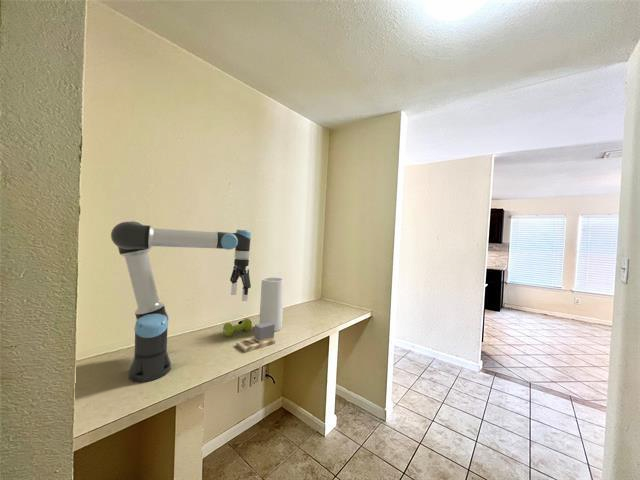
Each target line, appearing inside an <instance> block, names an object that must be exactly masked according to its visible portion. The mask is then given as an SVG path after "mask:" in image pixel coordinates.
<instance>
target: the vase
mask: <svg viewBox="0 0 640 480" xmlns="http://www.w3.org/2000/svg"><path fill="white" fill-rule="evenodd" d="M284 280H285V279H284V278H282V277H275V276H274V277H273V276H272V277H271V276H269V277H262V278H261V285H260V287H261V289H260V303H259V305H260V307H259V319H258V321H259V322H258V324H260V323H265V322H271V323H272V324H274V325H275V327H274V332H277V331H280V330H281V329H282V327H283V326H282V325H283V314H284V313H283V312H284V311H283V310H284V309H283V308H284V286H285V285H284V282H285V281H284Z"/></svg>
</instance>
